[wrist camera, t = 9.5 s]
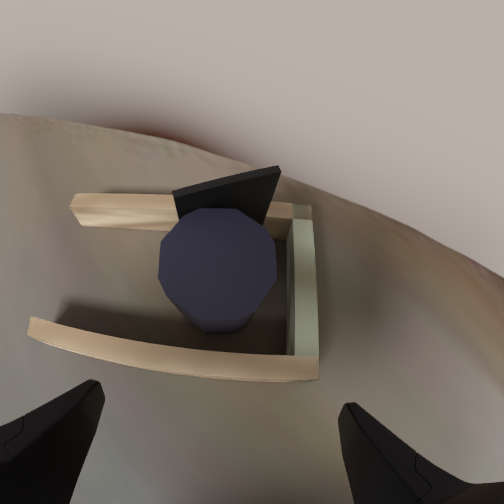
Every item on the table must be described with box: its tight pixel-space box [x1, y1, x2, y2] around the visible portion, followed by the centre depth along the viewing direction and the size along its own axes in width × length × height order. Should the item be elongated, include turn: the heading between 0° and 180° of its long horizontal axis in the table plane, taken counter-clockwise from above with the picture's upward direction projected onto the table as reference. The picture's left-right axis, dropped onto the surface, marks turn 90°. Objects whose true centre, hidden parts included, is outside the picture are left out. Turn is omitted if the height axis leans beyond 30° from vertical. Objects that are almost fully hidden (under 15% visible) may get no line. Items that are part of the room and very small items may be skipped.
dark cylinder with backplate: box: [158, 165, 281, 333], centre depth 16 cm, size 8×6×10 cm
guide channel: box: [27, 194, 319, 382], centre depth 19 cm, size 13×20×3 cm, turn 87°
